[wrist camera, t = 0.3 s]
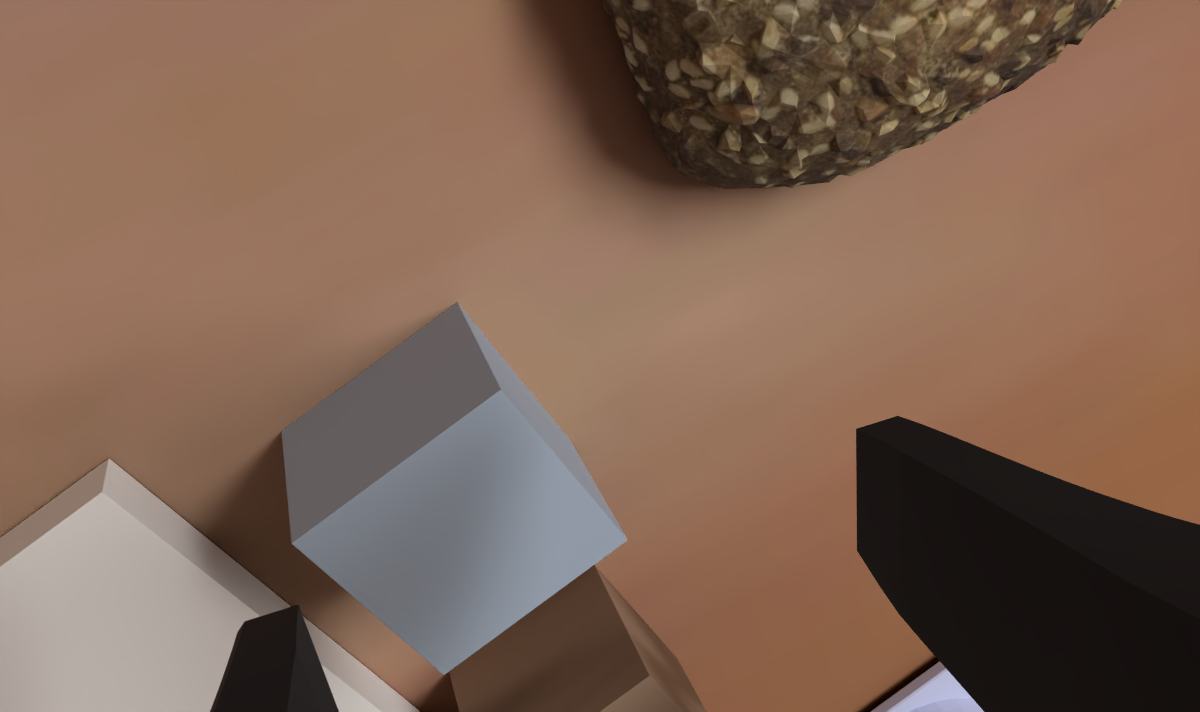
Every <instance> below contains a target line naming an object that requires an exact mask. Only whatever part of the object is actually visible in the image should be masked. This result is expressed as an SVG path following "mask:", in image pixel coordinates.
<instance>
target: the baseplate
mask: <svg viewBox="0 0 1200 712" xmlns="http://www.w3.org/2000/svg"><path fill="white" fill-rule="evenodd" d="M289 607H291V606H290V605H289V604H287V603H286V602H285V601H284V600H282V599H281V598H280V597H279V596H278V595H276V594H275V593H274V592H273V591H271V590H270V589H269V588H268V587H266V586H265V585H264V584H263V583H262V582H260V581H259V580H258V579H257V578H255V577H254V576H253V575H252V574H251V573H249V572H248V571H247V570H246V569H244V568H243V567H242V566H241V565H239V564H238V563H237V562H236V561H235V560H233V559H232V558H231V557H230V556H228V555H227V554H226V553H225V552H223V551H222V550H221V549H220V548H219V547H217V546H216V545H215V544H214V543H212V542H211V541H210V540H209V539H207V538H206V537H205V536H204V535H203V534H201V533H200V532H199V531H198V530H196V529H195V528H194V527H193V526H191V525H190V524H189V523H188V522H187V521H185V520H184V519H183V518H182V517H180V516H179V515H178V514H177V513H175V512H174V511H173V510H172V509H171V508H169V507H168V506H167V505H166V504H164V503H163V502H162V501H161V500H160V499H158V498H157V497H156V496H155V495H153V494H152V493H151V492H150V491H148V490H147V489H146V488H145V487H144V486H142V485H141V484H140V483H139V482H137V481H136V480H135V479H134V478H132V477H131V476H130V475H129V474H128V473H126V472H125V471H124V470H123V469H121V468H120V467H119V466H118V465H116V464H115V463H114V462H113V461H112V460H110V459H109V458H108V459H107V460H106V461H104V462H103V463H102V464H100V465H99V466H98V467H96V468H95V469H93V470H92V471H91V472H89V473H88V474H87V475H85V476H84V477H83V478H81V479H80V480H78V481H77V482H76V483H74V484H73V485H72V486H70V487H69V488H68V489H66V490H65V491H63V492H62V493H61V494H59V495H58V496H57V497H55V498H54V499H53V500H51V501H50V502H49V503H47V504H46V505H44V506H43V507H42V508H40V509H39V510H38V511H36V512H35V513H34V514H32V515H31V516H29V517H28V518H27V519H25V520H24V521H23V522H21V523H20V524H19V525H17V526H16V527H14V528H13V529H12V530H10V531H9V532H8V533H6V534H5V535H4V536H2V537H1V538H0V712H210V710H211V708H212V705H213V702H214V700H215V697H216V694H217V692H218V689H219V686H220V683H221V681H222V678H223V675H224V672H225V669H226V666H227V663H228V660H229V657H230V654H231V651H232V648H233V645H234V642H235V638H236V635H237V632H238V631H239V629H240V628H241V626H242V625H243V623H244V622H245V621H247V620H250V619H254V618H257V617H260V616H263V615H266V614H270V613H273V612H276V611H279V610H282V609H285V608H289ZM303 618H304V621H305V623H306V626H307V628H308V631H309V634H310V636H311V639H312V642H313V644H314V647H315V650H316V652H317V655H318V657H319V660H320V663H321V665H322V668H323V671H324V673H325V676H326V679H327V681H328V684H329V687H330V689H331V692H332V694H333V697H334V700H335V702H336V705H337V708H338V710H339V712H420V711H419V710H418V709H417V708H415V707H414V706H413V705H412V704H410V703H409V702H408V701H407V700H405V699H404V698H403V697H402V696H401V695H399V694H398V693H397V692H396V691H394V690H393V689H392V688H391V687H389V686H388V685H387V684H386V683H385V682H383V681H382V680H381V679H380V678H378V677H377V676H376V675H375V674H373V673H372V672H371V671H370V670H369V669H367V668H366V667H365V666H364V665H362V664H361V663H360V662H359V661H358V660H356V659H355V658H354V657H353V656H351V655H350V654H349V653H348V652H346V651H345V650H344V649H343V648H342V647H340V646H339V645H338V644H337V643H335V642H334V641H333V640H332V639H330V638H329V637H328V636H327V635H326V634H324V633H323V632H322V631H321V630H319V629H318V628H317V627H316V626H314V625H313V624H312V623H311V622H310V621H308V620H307V619H306V618H305V617H303Z"/></svg>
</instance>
